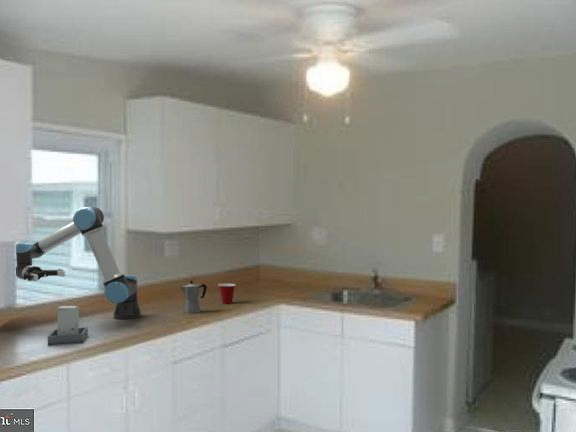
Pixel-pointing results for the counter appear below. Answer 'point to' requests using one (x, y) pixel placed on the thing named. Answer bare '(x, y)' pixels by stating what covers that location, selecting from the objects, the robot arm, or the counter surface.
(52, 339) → the bin
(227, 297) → the plastic cup
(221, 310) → the counter surface
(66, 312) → the skincare box
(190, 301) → the coffeepot
